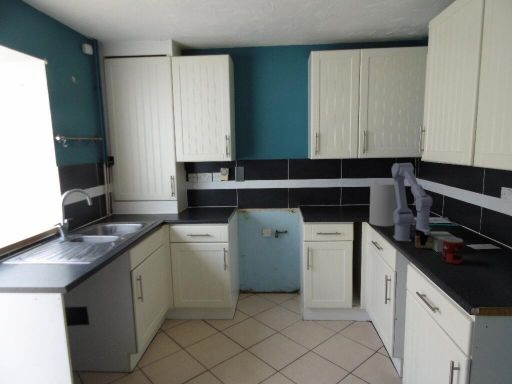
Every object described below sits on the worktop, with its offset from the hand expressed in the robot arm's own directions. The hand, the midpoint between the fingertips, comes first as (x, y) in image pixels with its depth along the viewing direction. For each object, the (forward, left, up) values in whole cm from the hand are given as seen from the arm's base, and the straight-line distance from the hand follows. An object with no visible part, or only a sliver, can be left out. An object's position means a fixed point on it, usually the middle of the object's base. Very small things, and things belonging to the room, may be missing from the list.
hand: (421, 244), depth 173 cm
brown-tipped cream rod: (0, +4, -2) cm, 4 cm away
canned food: (+19, +7, -2) cm, 20 cm away
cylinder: (-55, -7, -2) cm, 55 cm away
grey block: (0, +10, -2) cm, 10 cm away
